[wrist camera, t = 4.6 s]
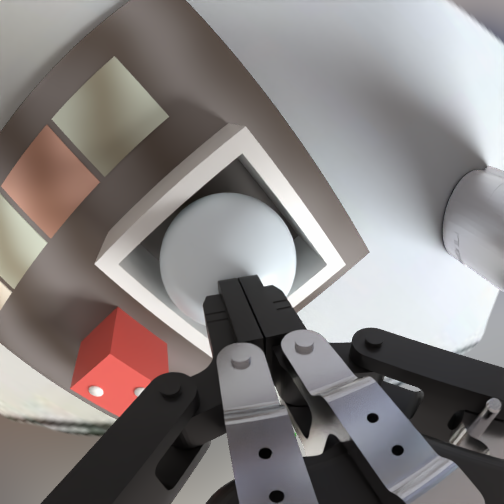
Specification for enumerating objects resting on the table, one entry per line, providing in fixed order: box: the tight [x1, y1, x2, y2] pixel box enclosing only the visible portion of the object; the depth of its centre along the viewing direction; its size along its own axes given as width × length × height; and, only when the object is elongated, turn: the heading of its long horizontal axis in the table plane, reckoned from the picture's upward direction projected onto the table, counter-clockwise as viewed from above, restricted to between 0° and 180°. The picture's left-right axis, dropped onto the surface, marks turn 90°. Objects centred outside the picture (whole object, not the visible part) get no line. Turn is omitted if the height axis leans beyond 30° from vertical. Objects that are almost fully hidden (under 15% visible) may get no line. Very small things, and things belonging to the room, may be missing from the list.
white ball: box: [159, 193, 296, 326], centre depth 15 cm, size 6×6×6 cm
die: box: [70, 307, 169, 417], centre depth 18 cm, size 4×4×4 cm
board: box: [0, 0, 369, 419], centre depth 18 cm, size 25×22×2 cm
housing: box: [95, 123, 346, 358], centre depth 16 cm, size 9×9×4 cm
